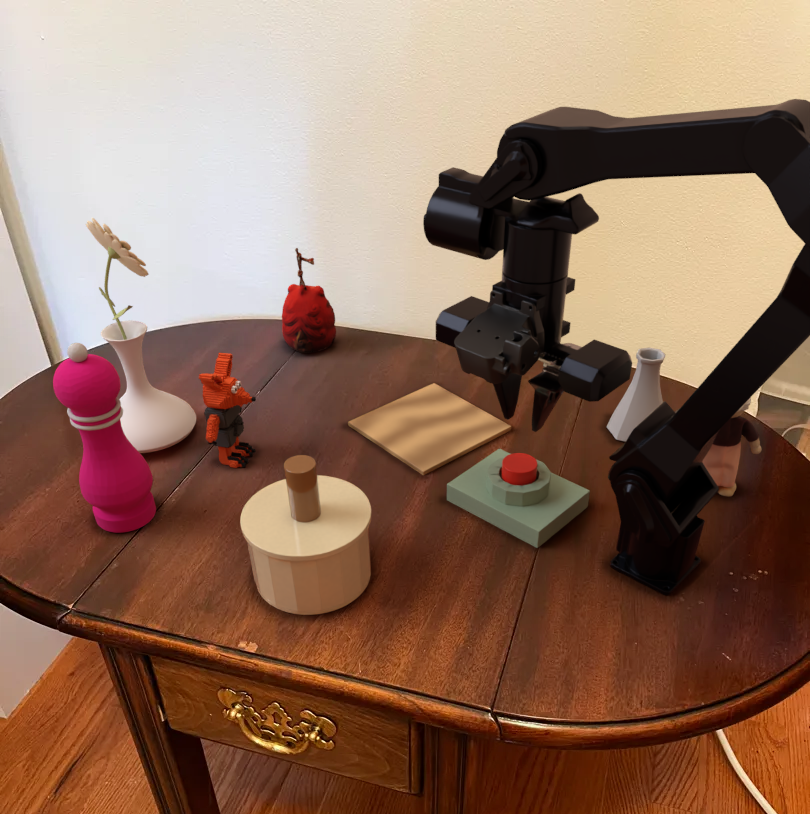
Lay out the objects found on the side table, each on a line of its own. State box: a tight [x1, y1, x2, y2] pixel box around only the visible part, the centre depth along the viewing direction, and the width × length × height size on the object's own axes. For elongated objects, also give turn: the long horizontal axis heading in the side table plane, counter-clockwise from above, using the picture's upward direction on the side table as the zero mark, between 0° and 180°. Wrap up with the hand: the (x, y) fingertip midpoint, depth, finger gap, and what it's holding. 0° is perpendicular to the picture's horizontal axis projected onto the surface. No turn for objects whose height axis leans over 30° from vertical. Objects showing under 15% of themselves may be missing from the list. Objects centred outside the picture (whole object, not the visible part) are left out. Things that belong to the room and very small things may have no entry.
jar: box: [246, 526, 372, 616], centre depth 79 cm, size 11×11×7 cm
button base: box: [446, 448, 591, 549], centre depth 88 cm, size 12×9×4 cm
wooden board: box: [347, 382, 512, 476], centre depth 101 cm, size 14×14×1 cm
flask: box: [606, 347, 666, 443], centre depth 97 cm, size 7×7×10 cm
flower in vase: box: [85, 217, 197, 454], centre depth 94 cm, size 13×11×25 cm
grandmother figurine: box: [702, 396, 763, 497], centre depth 87 cm, size 8×4×13 cm, turn 92°
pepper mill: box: [52, 342, 157, 534], centre depth 83 cm, size 7×7×20 cm
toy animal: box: [198, 352, 257, 469], centre depth 93 cm, size 8×6×12 cm
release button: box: [501, 452, 537, 486], centre depth 87 cm, size 4×4×2 cm
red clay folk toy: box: [281, 247, 337, 354], centre depth 114 cm, size 8×7×15 cm
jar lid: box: [239, 454, 373, 561], centre depth 75 cm, size 12×12×7 cm
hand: (522, 423), depth 83 cm, fingers open, 3 cm apart
